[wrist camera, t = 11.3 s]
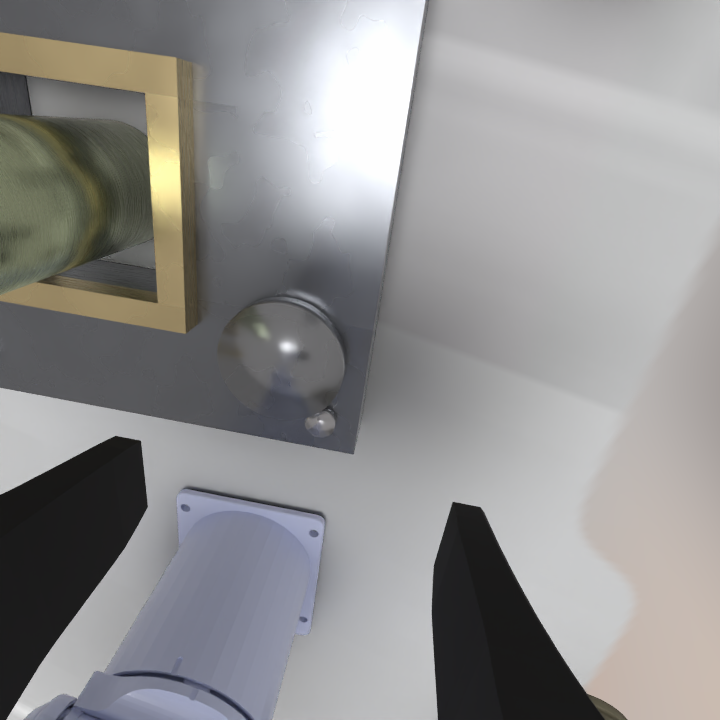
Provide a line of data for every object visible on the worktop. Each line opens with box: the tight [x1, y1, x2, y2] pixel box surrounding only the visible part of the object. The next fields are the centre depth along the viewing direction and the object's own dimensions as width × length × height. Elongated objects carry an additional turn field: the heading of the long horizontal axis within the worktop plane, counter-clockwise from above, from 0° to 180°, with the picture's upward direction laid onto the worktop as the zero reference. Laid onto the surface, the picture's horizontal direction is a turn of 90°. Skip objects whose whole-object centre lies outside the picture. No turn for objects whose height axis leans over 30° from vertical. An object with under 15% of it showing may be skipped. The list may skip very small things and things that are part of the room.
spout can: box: [0, 114, 154, 295], centre depth 14 cm, size 5×5×10 cm
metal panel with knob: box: [0, 0, 429, 454], centre depth 17 cm, size 18×18×4 cm
